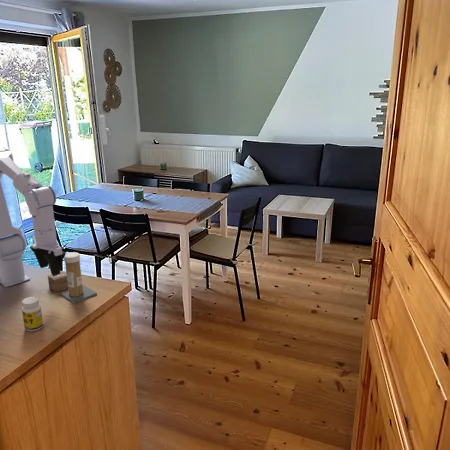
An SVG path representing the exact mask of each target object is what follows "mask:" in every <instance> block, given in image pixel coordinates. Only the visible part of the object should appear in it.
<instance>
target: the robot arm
mask: <svg viewBox="0 0 450 450" xmlns="http://www.w3.org/2000/svg"><path fill="white" fill-rule="evenodd" d="M14 161H15V160H14V157H13V152H11V150H10V149H9V148H7V147H1V148H0V179H1V178H2V177H3V175H5V176H7V177H8V178H10V179H11V180H12V184H13V185H12V186H13V187H14V188H15V189H16V190H17V191H18V192H19V193H20V194H21V195H22V196H23V197H24V201H25V203H26V205H27V208H28V212H29V214H30V215H31V218H32V219H31V220H32V224H33V225H32V227H33V233H34V235H33V236H32V238H31V239H32V243H33V244H31V245H30V246H29V249H30V250H31V252H33V254H34V256H35V258H36V260H37V263H38V265H39V267H40V268H41V269H43V268H47V267H49V269H50V270H49V271H50V273H51V274H52V275H53V276H55V275H58V274H60V271H61V269H62V264H63V261H64V256H65V255H66V254H67V253H66V251H64V250H63V248H62V247H61V246H60V244H59V241H58V240H57V239H58V238H57V231H56V224H55V214H54V207H53V206H54V205H56V203H57V195H56V192H55V190H54V189H53V187H52V186H50V185H48V184H47V185H45V184H42V183H40V182H39V181H38V180H37V179H36V178H35V176H33V175H32V174H31V173H29V172H23V171H22V170H21V168H20V167H19V166H18V165H17V164H16V162H14ZM12 223H13V222H12V221H11V216H10V211H9V208H8V204H7V200H6V197H5V193H4V189H3V185H2V181H1V180H0V284H1V285H2V286H3V287H6V288H8V287H11V286H14V285H17V284H20V283H24V282H26V281H30V280H31V278H30V277H29V276H28V275H26V274H25V268H24V261H23V256H22V255H24V253H25V252H24V251H26V248H27V241H26V239H25V237H24V235H23V232H22V230H21V229H19V228H18V227H15V226H13V224H12ZM61 272H62V271H61Z"/></svg>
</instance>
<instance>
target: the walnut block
mask: <svg viewBox="0 0 450 450" xmlns="http://www.w3.org/2000/svg"><path fill="white" fill-rule="evenodd" d="M47 281H48V287H49V289H50V290H52V291H53V292H55V293H58V292H60V291H63V290H65V289H68V283H67V275H66V273H64V272H63V271H60V274H58V275H55V276H53V275H52V273H51V274H48V275H47Z"/></svg>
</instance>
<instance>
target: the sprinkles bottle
mask: <svg viewBox="0 0 450 450" xmlns="http://www.w3.org/2000/svg"><path fill="white" fill-rule="evenodd" d="M65 254H66V255H65V256H64V258H63V261H64V265H65V274H66V275H67V283H68V288H67V289H68V290H69V295H70V296H73V297H75V296H80V295H81V294H83V286H82V285H83V277H82V271H81V270H82V269H81V262H80V261H81V257H80V255H81V254H80V253H79V252H76V251H73V252H72V251H71V252H67V253H65Z"/></svg>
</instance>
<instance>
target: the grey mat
mask: <svg viewBox="0 0 450 450" xmlns="http://www.w3.org/2000/svg"><path fill="white" fill-rule="evenodd" d="M82 286H83V294H81V295H80V296H75V297H73V296H70V295H69V289H68V290H65V291H63V292H60V296H62V297H64V298H65V299H66V300H67V301H69V302H71V303H72V304H77V303H79V302H81V301H83V300H87V299H89V298H92V297H94V296H97V295H98V292H97V291H94V290H93V289H91V288H89V287H88V286H86V285H85V284H82Z"/></svg>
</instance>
